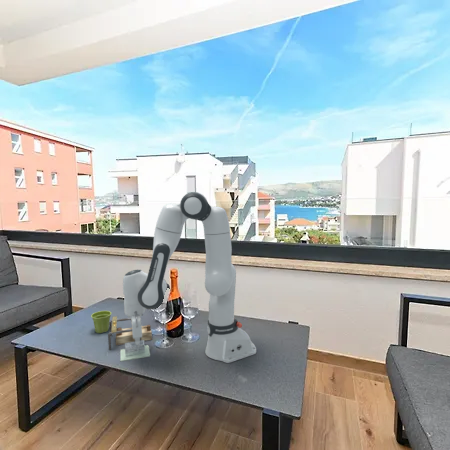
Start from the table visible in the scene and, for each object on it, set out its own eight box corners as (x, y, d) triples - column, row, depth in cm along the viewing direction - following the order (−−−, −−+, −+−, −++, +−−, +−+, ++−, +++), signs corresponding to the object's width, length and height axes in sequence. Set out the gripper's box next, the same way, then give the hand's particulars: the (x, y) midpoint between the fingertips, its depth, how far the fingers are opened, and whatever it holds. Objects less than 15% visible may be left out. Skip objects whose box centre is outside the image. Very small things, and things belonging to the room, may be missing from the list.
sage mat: (148, 346, 132) (148, 345, 132) (150, 356, 124) (150, 355, 124) (120, 350, 128) (120, 349, 128) (120, 361, 120) (120, 360, 120)
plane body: (149, 329, 148) (149, 315, 148) (152, 342, 135) (151, 326, 134) (110, 335, 142) (109, 320, 141) (108, 349, 129) (107, 333, 128)
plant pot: (98, 326, 152) (97, 310, 152) (115, 326, 152) (114, 310, 151) (88, 334, 143) (87, 317, 142) (106, 335, 142) (105, 318, 141)
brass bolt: (117, 318, 143) (116, 314, 143) (116, 332, 129) (116, 327, 129) (112, 319, 142) (112, 314, 142) (111, 332, 128) (111, 327, 128)
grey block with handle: (144, 348, 129) (143, 338, 129) (144, 353, 125) (144, 343, 125) (125, 351, 127) (124, 341, 126) (125, 356, 123) (125, 346, 122)
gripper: (144, 315, 115) (146, 348, 117) (141, 299, 134) (142, 327, 136) (128, 318, 113) (130, 352, 114) (126, 301, 132) (128, 330, 134)
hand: (137, 338), depth 125 cm, fingers open, 8 cm apart
